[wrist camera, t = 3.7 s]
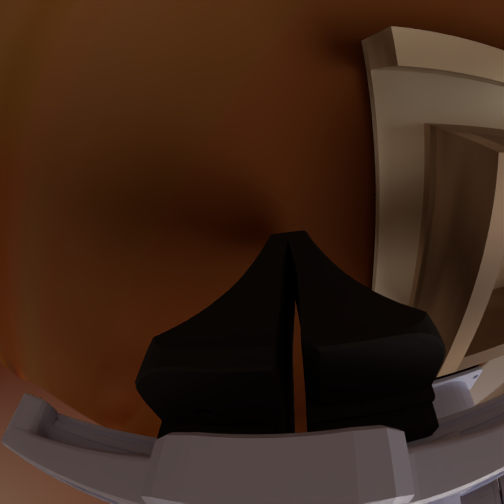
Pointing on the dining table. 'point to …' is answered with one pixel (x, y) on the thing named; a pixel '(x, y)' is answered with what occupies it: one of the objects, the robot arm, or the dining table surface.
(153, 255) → the dining table surface
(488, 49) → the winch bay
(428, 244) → the beige square tray
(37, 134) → the dining table surface
